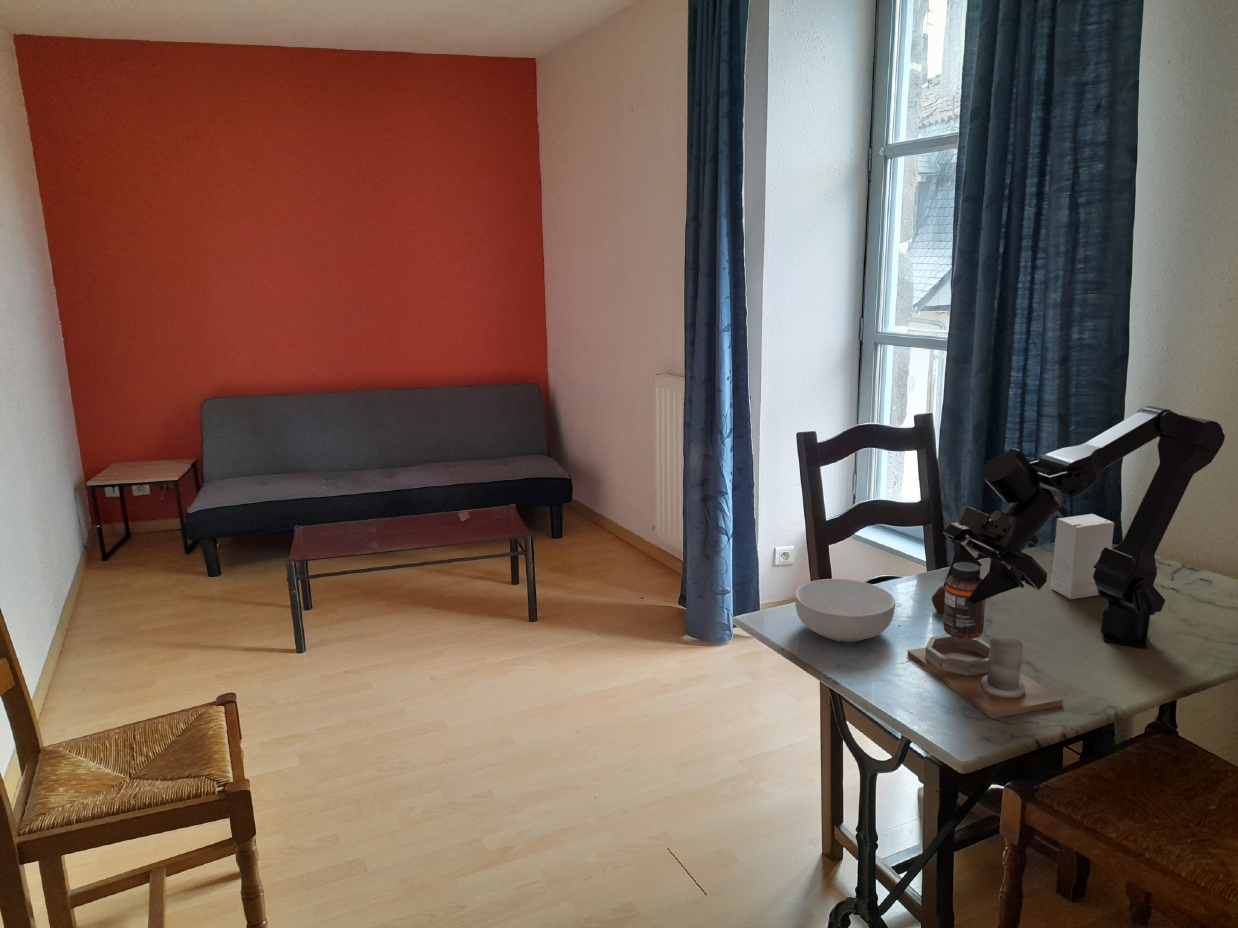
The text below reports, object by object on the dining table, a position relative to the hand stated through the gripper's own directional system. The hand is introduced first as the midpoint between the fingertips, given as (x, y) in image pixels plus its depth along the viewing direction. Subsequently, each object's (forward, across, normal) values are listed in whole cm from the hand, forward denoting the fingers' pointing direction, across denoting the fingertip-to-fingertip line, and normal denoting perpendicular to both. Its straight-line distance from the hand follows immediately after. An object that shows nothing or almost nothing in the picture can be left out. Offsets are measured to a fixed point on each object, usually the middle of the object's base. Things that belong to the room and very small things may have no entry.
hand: (957, 594), depth 138 cm
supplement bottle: (+4, 0, +6) cm, 7 cm away
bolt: (-3, -22, +21) cm, 31 cm away
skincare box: (-20, -19, +38) cm, 47 cm away
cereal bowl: (+16, -17, +1) cm, 23 cm away
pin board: (+8, +5, +9) cm, 13 cm away
